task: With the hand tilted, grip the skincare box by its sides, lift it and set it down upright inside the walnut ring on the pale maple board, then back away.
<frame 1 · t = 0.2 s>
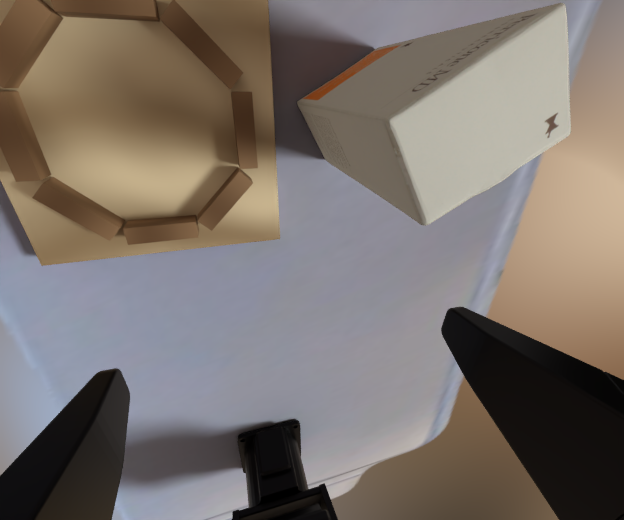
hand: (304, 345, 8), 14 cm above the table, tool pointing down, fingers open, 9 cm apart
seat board: (146, 129, 17), on the table
skincare box: (347, 107, 20), on the table
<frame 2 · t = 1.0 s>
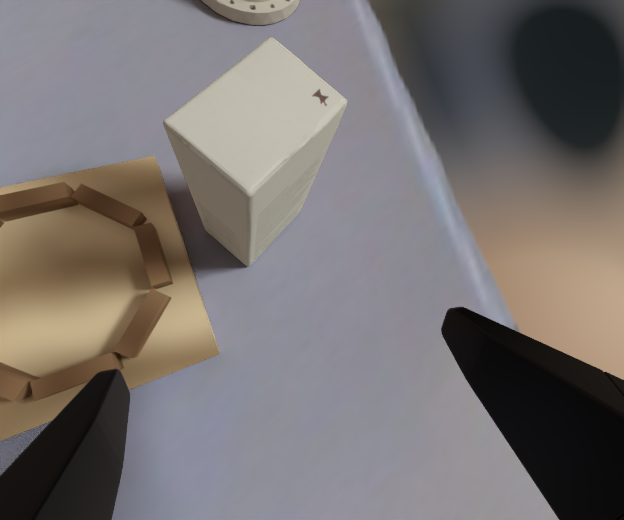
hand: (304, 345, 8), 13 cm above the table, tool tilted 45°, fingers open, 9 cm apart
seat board: (73, 288, 19), on the table
skincare box: (253, 222, 23), on the table
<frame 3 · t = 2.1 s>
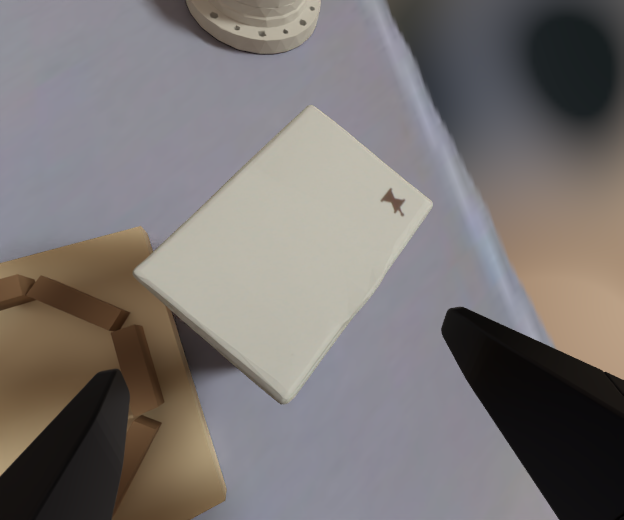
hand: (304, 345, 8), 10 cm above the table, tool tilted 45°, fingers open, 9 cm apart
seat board: (30, 411, 15), on the table
skincare box: (266, 302, 18), on the table
mechanical component: (253, 7, 24), on the table
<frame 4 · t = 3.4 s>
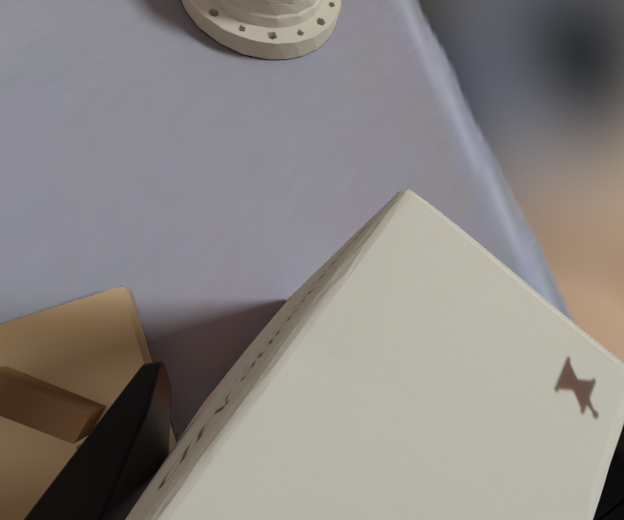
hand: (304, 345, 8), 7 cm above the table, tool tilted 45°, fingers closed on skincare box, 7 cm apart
skincare box: (281, 373, 15), on the table, touching gripper
mechanical component: (260, 3, 20), on the table
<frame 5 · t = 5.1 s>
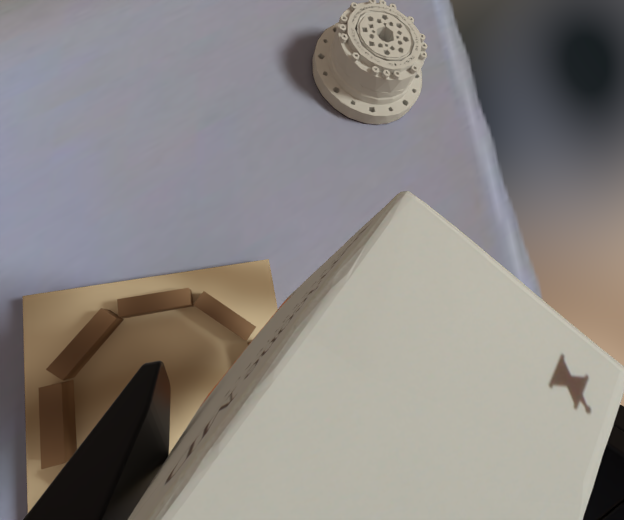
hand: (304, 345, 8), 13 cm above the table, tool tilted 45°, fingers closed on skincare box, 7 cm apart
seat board: (173, 390, 19), on the table
skincare box: (280, 372, 15), point 6 cm above the table, touching gripper
mechanical component: (363, 80, 29), on the table
when the fingers open (9 cm above the table, at t = 6.9 s): skincare box stays where it is, resting on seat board.
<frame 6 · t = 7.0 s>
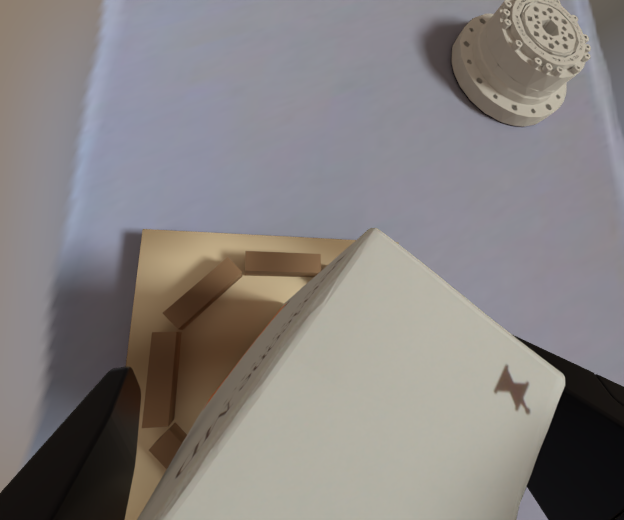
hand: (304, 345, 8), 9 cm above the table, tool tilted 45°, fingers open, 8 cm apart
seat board: (277, 368, 17), on the table
skincare box: (278, 374, 16), point 1 cm above the table, touching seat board
mechanical component: (499, 79, 26), on the table
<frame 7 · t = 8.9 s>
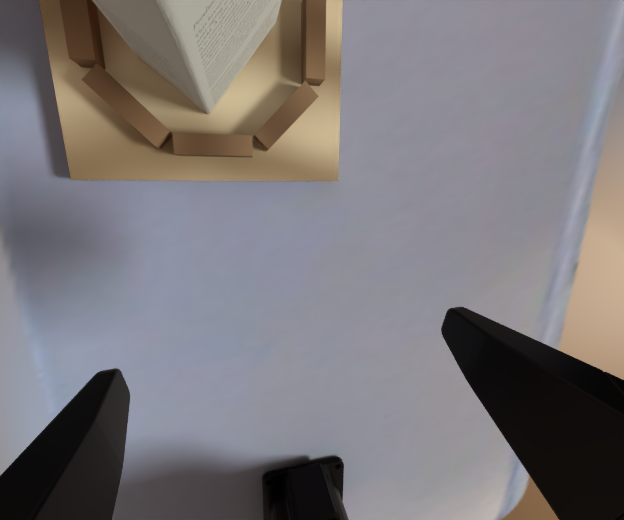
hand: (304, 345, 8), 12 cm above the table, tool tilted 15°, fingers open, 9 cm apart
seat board: (209, 44, 17), on the table
skincare box: (206, 41, 16), point 1 cm above the table, touching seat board
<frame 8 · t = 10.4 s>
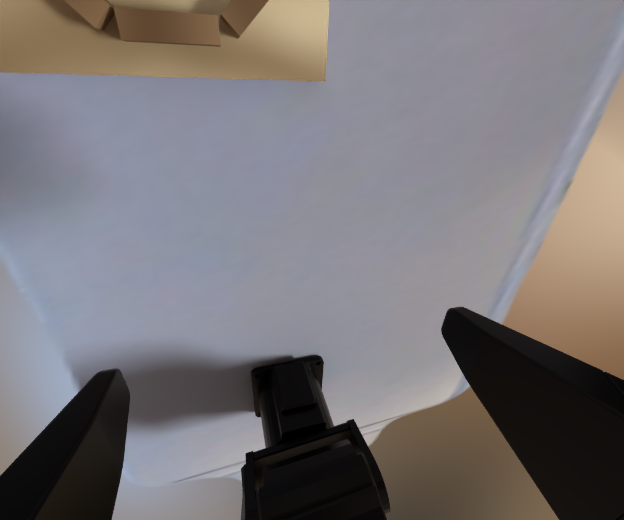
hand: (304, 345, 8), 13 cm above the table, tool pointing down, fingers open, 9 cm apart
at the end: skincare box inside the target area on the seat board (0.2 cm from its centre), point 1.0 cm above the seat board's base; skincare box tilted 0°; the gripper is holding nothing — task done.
